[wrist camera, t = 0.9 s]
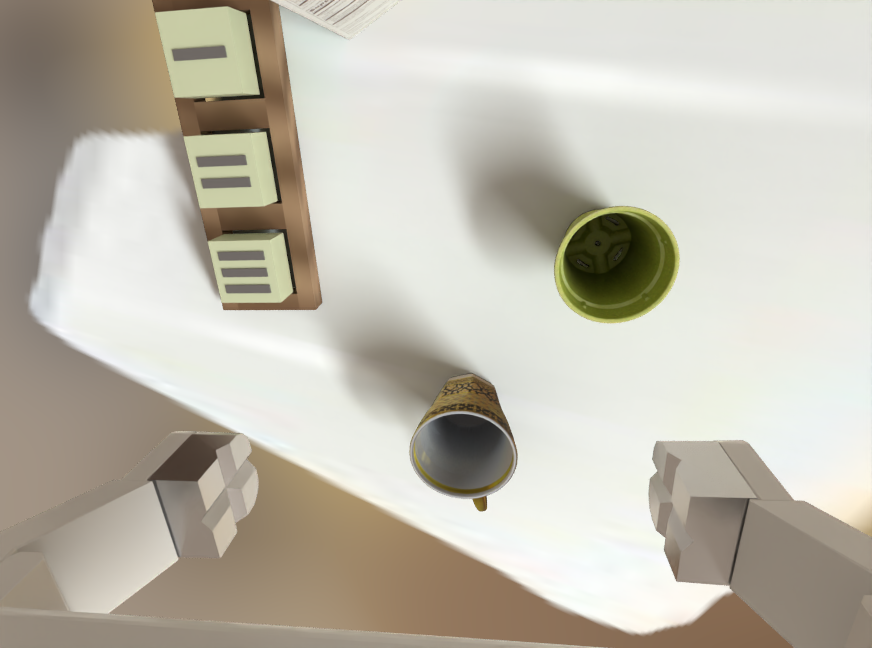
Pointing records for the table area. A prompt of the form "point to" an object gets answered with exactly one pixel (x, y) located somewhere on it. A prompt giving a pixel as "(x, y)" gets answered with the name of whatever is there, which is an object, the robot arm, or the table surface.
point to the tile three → (251, 267)
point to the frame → (282, 124)
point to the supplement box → (340, 13)
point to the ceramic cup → (465, 442)
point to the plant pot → (616, 264)
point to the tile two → (231, 169)
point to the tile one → (208, 52)
